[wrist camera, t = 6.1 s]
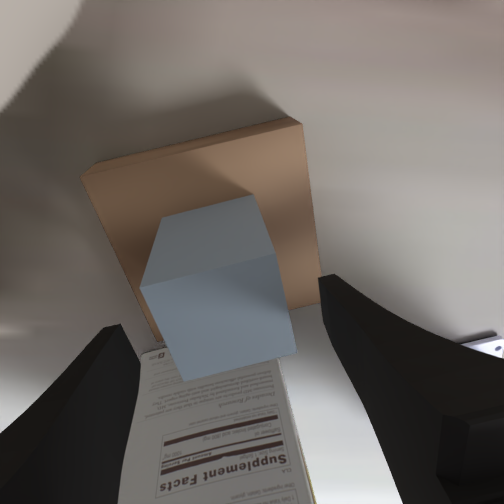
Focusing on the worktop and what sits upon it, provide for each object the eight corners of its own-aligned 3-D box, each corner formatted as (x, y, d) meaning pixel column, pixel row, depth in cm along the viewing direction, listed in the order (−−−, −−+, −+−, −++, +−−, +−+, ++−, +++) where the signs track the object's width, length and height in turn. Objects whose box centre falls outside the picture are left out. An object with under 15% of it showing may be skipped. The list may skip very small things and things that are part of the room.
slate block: (271, 272, 18) (297, 352, 13) (190, 292, 18) (183, 381, 13) (253, 194, 16) (275, 253, 11) (161, 217, 16) (139, 287, 11)
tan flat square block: (310, 274, 22) (324, 301, 20) (163, 309, 22) (157, 341, 20) (287, 115, 17) (302, 123, 15) (98, 160, 17) (79, 177, 15)
